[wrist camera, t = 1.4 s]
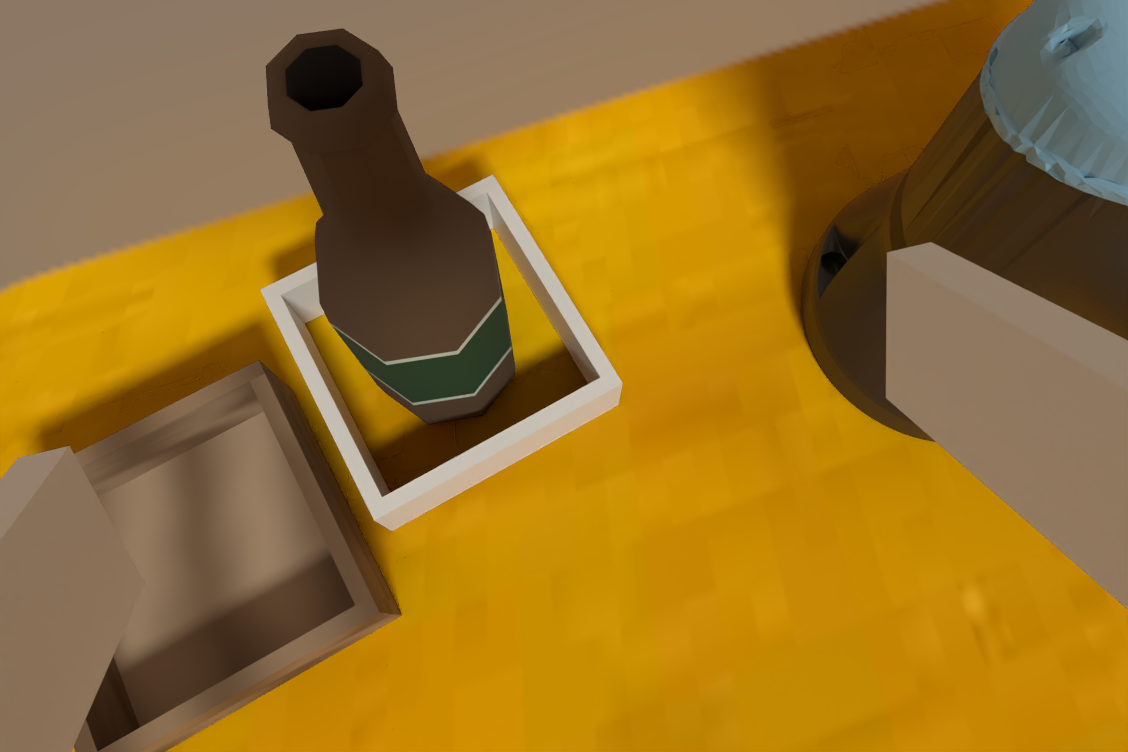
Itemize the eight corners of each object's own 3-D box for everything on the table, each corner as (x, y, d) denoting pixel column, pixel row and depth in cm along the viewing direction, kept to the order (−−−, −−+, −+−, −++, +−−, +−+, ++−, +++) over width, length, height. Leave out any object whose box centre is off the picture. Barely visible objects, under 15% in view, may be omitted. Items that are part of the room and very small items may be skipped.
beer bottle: (499, 444, 43) (419, 228, 20) (360, 412, 44) (131, 167, 21) (534, 312, 46) (498, -15, 23) (402, 283, 46) (236, -63, 23)
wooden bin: (292, 389, 44) (258, 359, 39) (401, 615, 41) (379, 612, 36) (52, 513, 42) (-13, 498, 37) (145, 762, 39) (85, 780, 34)
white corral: (499, 211, 47) (492, 174, 44) (618, 405, 44) (622, 383, 40) (286, 318, 45) (260, 289, 42) (391, 531, 42) (374, 520, 38)
